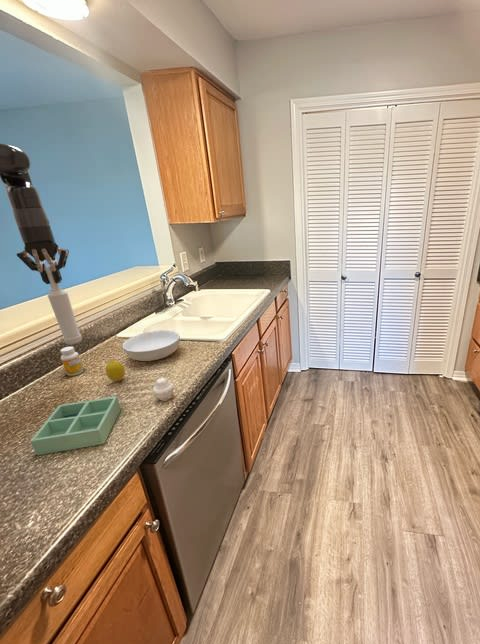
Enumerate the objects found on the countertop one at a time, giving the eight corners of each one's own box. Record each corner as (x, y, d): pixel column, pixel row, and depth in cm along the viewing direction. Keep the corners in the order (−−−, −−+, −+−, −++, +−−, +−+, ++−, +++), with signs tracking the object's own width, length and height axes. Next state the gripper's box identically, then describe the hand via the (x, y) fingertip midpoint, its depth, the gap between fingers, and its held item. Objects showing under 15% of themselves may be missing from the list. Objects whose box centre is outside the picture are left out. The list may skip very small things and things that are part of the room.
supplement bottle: (65, 372, 120) (56, 349, 116) (82, 367, 123) (74, 344, 119) (68, 377, 116) (59, 353, 112) (85, 372, 119) (77, 348, 115)
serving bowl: (148, 372, 116) (144, 355, 114) (116, 360, 127) (111, 344, 124) (193, 350, 132) (190, 334, 130) (161, 341, 143) (157, 326, 140)
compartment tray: (36, 455, 80) (29, 441, 78) (64, 418, 94) (58, 405, 92) (104, 443, 82) (99, 429, 81) (121, 409, 96) (117, 396, 95)
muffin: (179, 396, 101) (175, 377, 98) (161, 406, 97) (156, 386, 94) (169, 390, 105) (165, 371, 102) (151, 399, 100) (146, 379, 98)
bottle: (64, 346, 105) (36, 269, 96) (64, 341, 109) (38, 267, 100) (82, 342, 108) (57, 267, 98) (82, 337, 112) (58, 264, 102)
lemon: (108, 387, 108) (101, 366, 105) (110, 379, 113) (103, 359, 110) (127, 382, 110) (120, 362, 107) (127, 375, 115) (121, 355, 112)
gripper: (-2, 227, 89) (21, 288, 96) (54, 224, 92) (73, 283, 99) (13, 225, 96) (34, 282, 103) (65, 222, 99) (82, 278, 106)
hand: (53, 282), depth 101 cm, fingers closed on bottle, 2 cm apart
